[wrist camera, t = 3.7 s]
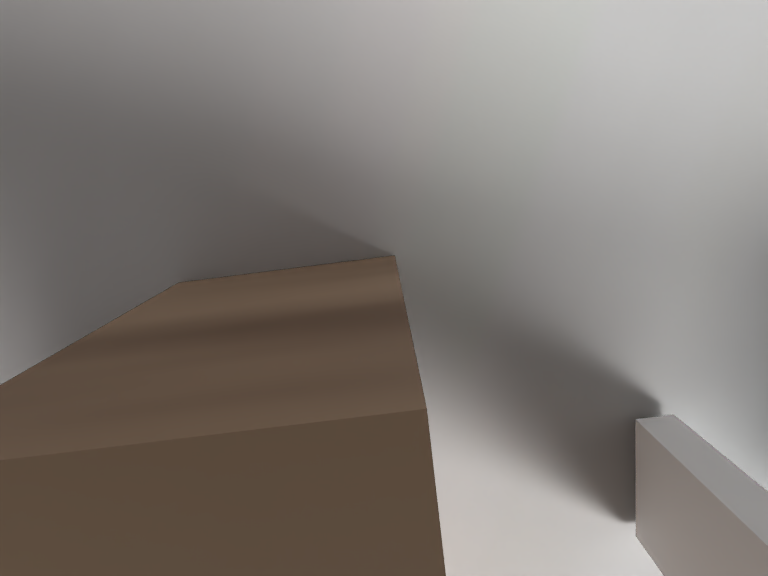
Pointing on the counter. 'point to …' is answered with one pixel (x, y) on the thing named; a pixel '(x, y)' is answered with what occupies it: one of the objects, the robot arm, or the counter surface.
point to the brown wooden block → (228, 436)
